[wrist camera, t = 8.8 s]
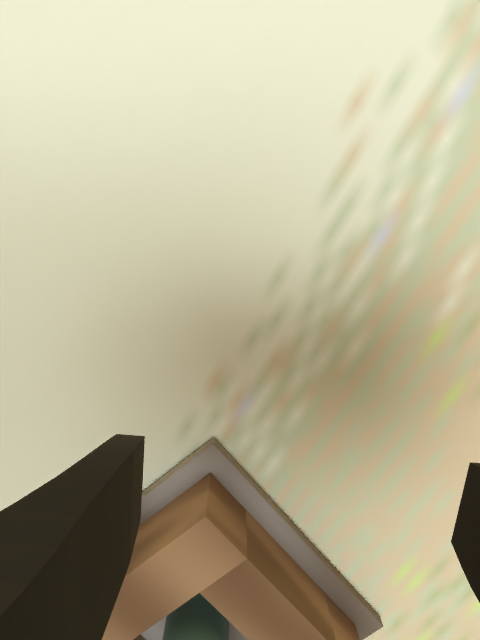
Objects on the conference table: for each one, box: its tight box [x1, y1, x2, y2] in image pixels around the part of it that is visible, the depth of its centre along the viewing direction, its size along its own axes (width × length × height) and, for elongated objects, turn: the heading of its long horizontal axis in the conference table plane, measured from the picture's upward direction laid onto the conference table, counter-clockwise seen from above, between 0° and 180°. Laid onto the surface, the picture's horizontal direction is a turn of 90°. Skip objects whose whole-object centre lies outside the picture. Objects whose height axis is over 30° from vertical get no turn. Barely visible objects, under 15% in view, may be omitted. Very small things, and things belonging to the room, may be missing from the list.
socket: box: [102, 437, 383, 640], centre depth 21 cm, size 13×13×4 cm
